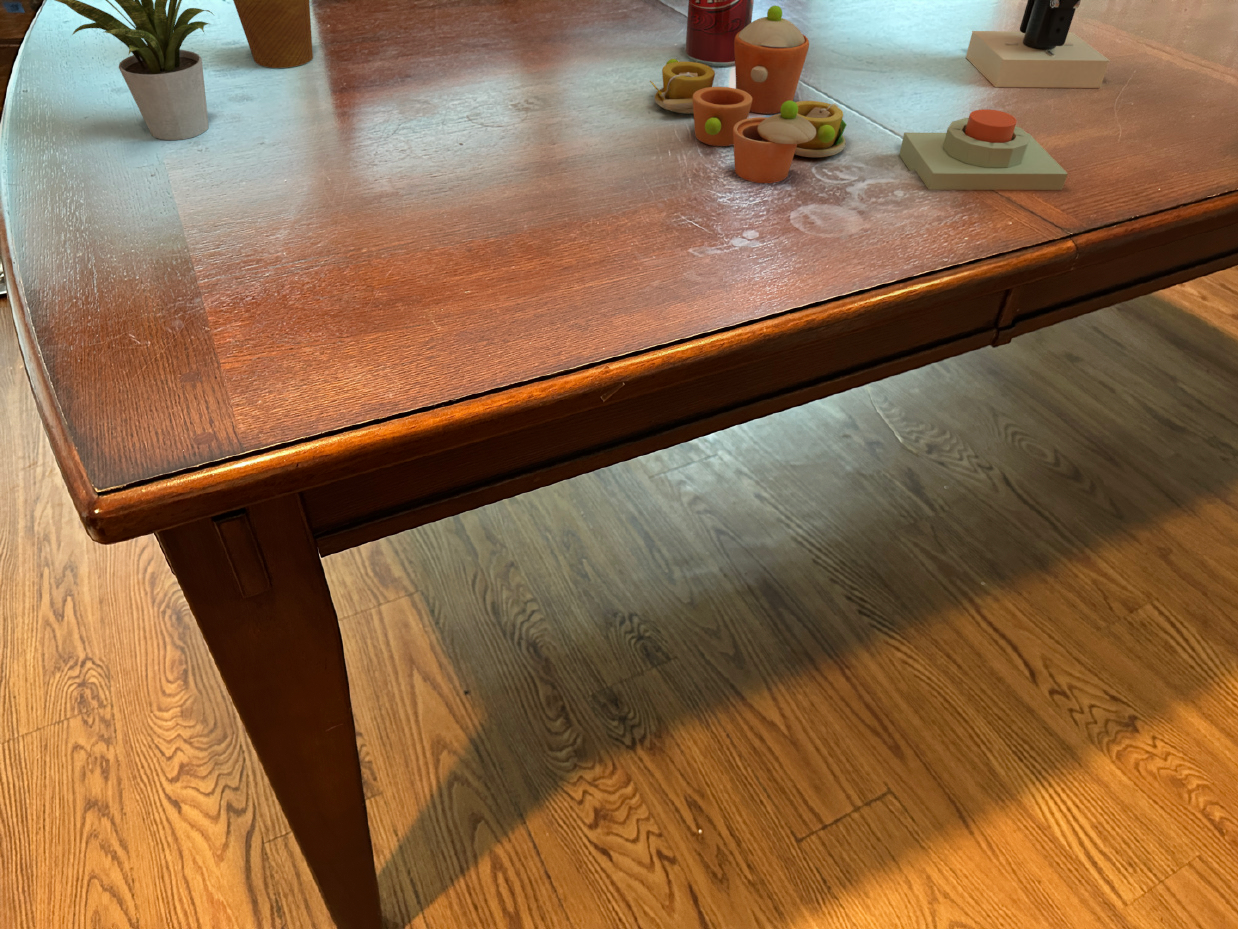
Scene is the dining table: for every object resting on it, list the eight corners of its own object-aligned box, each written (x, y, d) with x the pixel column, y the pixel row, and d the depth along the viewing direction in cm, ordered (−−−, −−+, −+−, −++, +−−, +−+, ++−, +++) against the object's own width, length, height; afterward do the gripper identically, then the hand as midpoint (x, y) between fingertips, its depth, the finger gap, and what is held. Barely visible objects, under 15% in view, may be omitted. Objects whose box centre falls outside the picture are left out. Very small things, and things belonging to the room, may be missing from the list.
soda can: (713, 43, 112) (722, -70, 104) (760, 58, 108) (773, -57, 101) (671, 56, 108) (678, -60, 100) (719, 72, 104) (730, -47, 97)
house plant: (205, 87, 97) (158, -92, 86) (294, 119, 91) (255, -69, 81) (77, 128, 88) (6, -66, 78) (166, 166, 82) (103, -38, 72)
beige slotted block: (1063, 58, 111) (1072, 30, 109) (1100, 87, 104) (1110, 58, 102) (965, 57, 111) (972, 29, 109) (995, 87, 103) (1003, 57, 101)
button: (1001, 128, 85) (1007, 109, 84) (1017, 146, 82) (1023, 126, 81) (958, 128, 84) (963, 108, 83) (973, 145, 81) (978, 126, 80)
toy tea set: (639, 95, 99) (642, -4, 92) (773, 83, 102) (785, -13, 96) (733, 201, 80) (745, 87, 74) (893, 182, 84) (918, 72, 77)
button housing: (1021, 155, 89) (1035, 113, 86) (1059, 197, 82) (1075, 153, 80) (898, 154, 88) (908, 112, 86) (926, 196, 82) (938, 152, 79)
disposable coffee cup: (222, 58, 104) (192, -63, 96) (295, 39, 109) (272, -77, 101) (271, 79, 99) (245, -46, 91) (345, 59, 105) (325, -61, 97)
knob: (1048, 39, 107) (1064, -11, 103) (1061, 49, 104) (1077, -2, 100) (1017, 39, 107) (1032, -12, 103) (1029, 49, 104) (1045, -3, 100)
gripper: (1178, -141, 87) (1105, 63, 99) (1100, -167, 99) (1044, 17, 111) (1100, -142, 86) (1036, 63, 98) (1031, -169, 99) (983, 16, 111)
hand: (1041, 36), depth 105 cm, fingers closed on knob, 3 cm apart
